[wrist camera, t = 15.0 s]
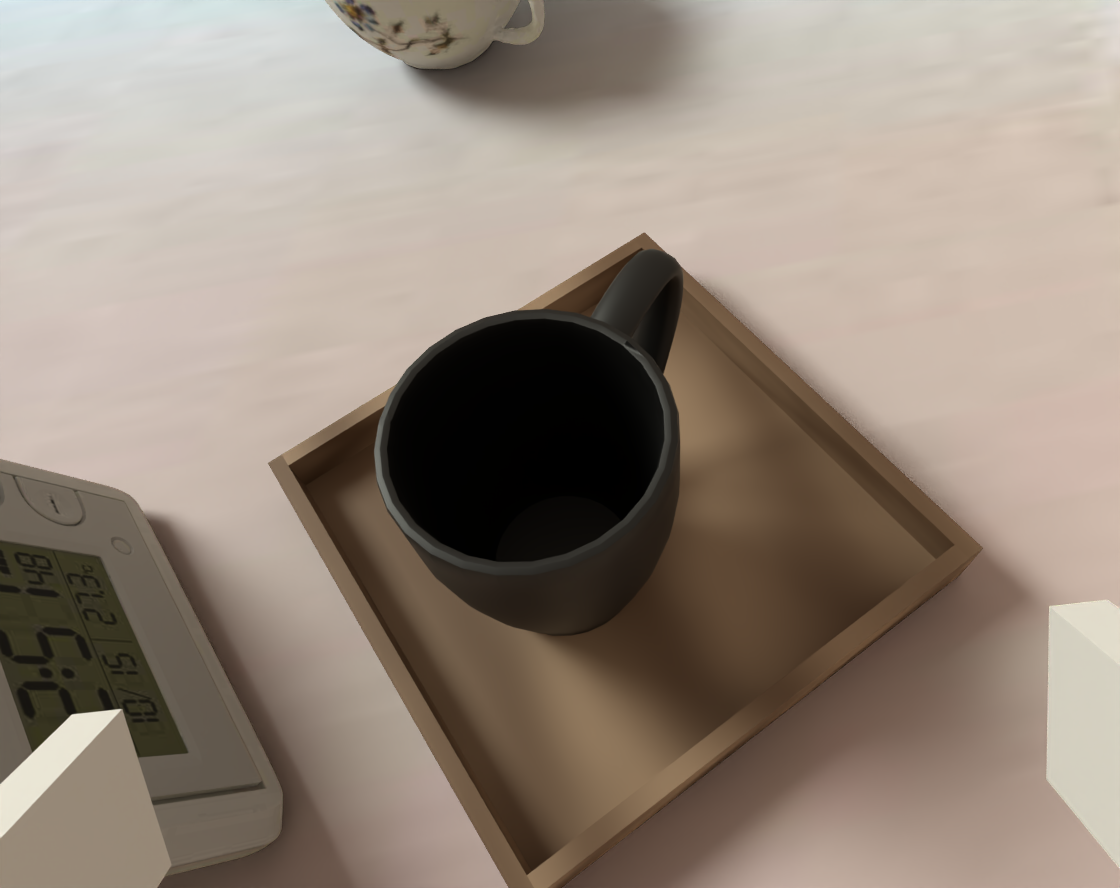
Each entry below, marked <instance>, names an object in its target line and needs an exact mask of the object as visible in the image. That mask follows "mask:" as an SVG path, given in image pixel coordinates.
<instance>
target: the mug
mask: <svg viewBox="0 0 1120 888" xmlns="http://www.w3.org/2000/svg"><path fill="white" fill-rule="evenodd" d="M682 297H683V270H682V267H681V266H680V265H679V263H678V262H677V261H676V259H675V258H674V257H672V256H670V255H669V254H667V253H666V252H664V251H660V250H656V249H648V250H643V251H640V252H638V253H637V254H636V255H635V256H634V257H633V258H632V259H631V260H630V261H629V262H628V263H627V264H626V265H625V266H624V267H623V269H622V270H621V271H620V272H619V274H618V275H617V276H616V278H615V279H614V280H613V282H612V283H611V285H610V286H609V288H608V289H607V291H606V292H605V294H604V295H603V297H602V299H601V300H600V302H599V303H598V305H597V307H596V308H595V310H594V312H593V314H592V315H591V317H588V316H585V315H582V314H579V313H574V312H567V311H559V310H551V309H535V310H516V311H511V312H507V313H503V314H498V315H494V316H490V317H486V318H483V319H481V320H478V321H476V322H473V323H471V324H469V325H466V326H464V327H462V328H459V329H457V330H455V331H454V332H452V333H451V334H449V335H448V336H446V337H445V338H443V339H441V340H440V341H438V342H437V343H435V344H434V345H432V346H431V347H429V348H428V349H427V350H426V351H425V352H424V353H423V354H422V355H421V356H420V357H419V358H418V359H417V360H416V361H415V362H414V363H413V364H412V365H411V366H410V367H409V368H408V369H407V370H406V372H405V373H404V374H403V376H402V377H401V379H400V380H399V382H398V383H397V385H396V386H395V387H394V389H393V390H392V392H391V393H390V395H389V398H388V400H387V403H386V405H385V407H384V410H383V412H382V415H381V417H380V420H379V424H378V429H377V436H376V442H375V448H374V458H375V469H376V480H377V485H378V488H379V491H380V493H381V496H382V499H383V501H384V504H385V507H386V509H387V512H388V513H389V515H390V516H391V517H392V519H393V520H394V522H395V523H396V524H397V526H398V527H399V529H400V530H401V531H402V533H403V534H404V536H405V537H406V538H407V540H408V541H409V543H410V544H411V545H412V547H413V548H414V549H415V551H416V552H417V554H418V555H419V556H420V558H421V559H422V561H423V562H424V563H425V565H426V566H427V567H428V569H429V570H430V571H431V572H432V574H433V575H434V576H435V578H436V579H438V580H439V581H440V582H441V583H442V584H444V585H445V586H446V587H447V588H448V589H450V590H451V591H452V592H453V593H454V594H456V595H457V596H458V597H459V598H460V599H462V600H463V601H464V602H465V603H467V604H468V605H469V606H470V607H472V608H474V609H476V610H477V611H479V612H481V613H483V614H485V615H487V616H489V617H491V618H493V619H495V620H497V621H499V622H501V623H503V624H506V625H508V626H511V627H514V628H519V629H523V630H527V631H532V632H536V633H542V634H548V635H552V636H572V635H576V634H581V633H585V632H589V631H591V630H593V629H595V628H597V627H600V626H602V625H604V624H606V623H607V622H608V621H609V620H611V619H612V618H613V617H615V616H616V615H617V614H618V613H620V611H621V610H622V609H623V608H624V607H625V606H626V605H627V604H628V603H629V602H630V601H631V600H632V599H633V598H634V596H635V595H636V594H637V593H638V591H639V590H640V589H641V588H642V587H643V585H644V584H645V583H646V582H647V580H648V579H649V577H650V576H651V574H652V573H653V571H654V569H655V567H656V564H657V562H658V560H659V558H660V556H661V554H662V552H663V550H664V548H665V546H666V543H667V541H668V539H669V536H670V533H671V529H672V526H673V522H674V517H675V512H676V507H677V503H678V498H679V488H680V425H679V412H678V409H677V406H676V402H675V399H674V396H673V393H672V390H671V387H670V384H669V383H668V381H667V380H666V378H665V376H664V375H663V374H664V371H665V367H666V364H667V360H668V357H669V353H670V350H671V346H672V342H673V339H674V335H675V331H676V327H677V323H678V319H679V314H680V309H681V304H682Z"/></svg>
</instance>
